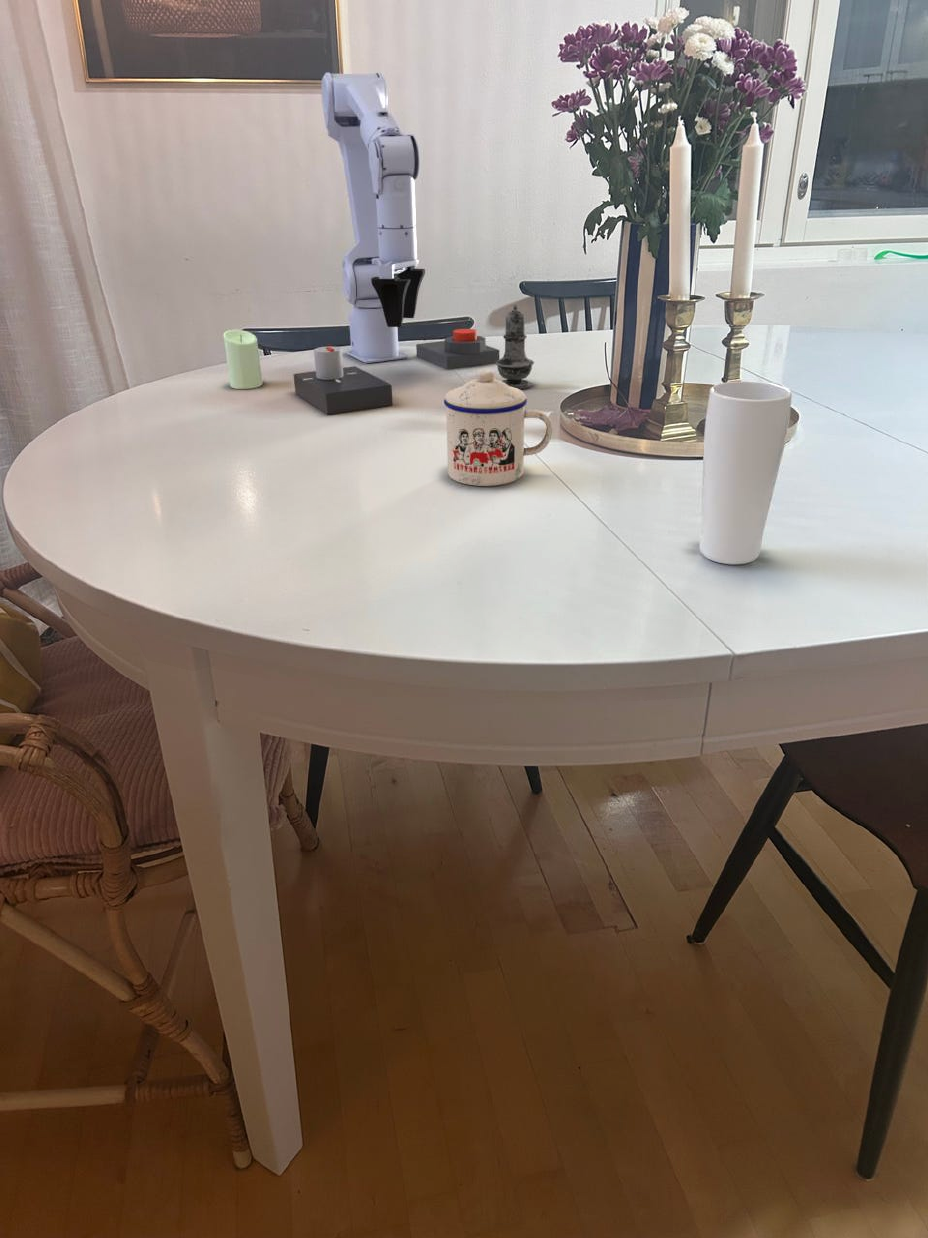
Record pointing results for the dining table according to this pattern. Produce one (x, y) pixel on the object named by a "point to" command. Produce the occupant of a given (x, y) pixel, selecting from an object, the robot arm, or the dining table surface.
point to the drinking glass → (741, 466)
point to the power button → (465, 335)
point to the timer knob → (328, 363)
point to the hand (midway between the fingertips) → (401, 322)
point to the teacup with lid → (488, 431)
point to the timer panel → (344, 391)
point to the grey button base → (458, 353)
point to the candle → (242, 359)
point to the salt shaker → (515, 352)
